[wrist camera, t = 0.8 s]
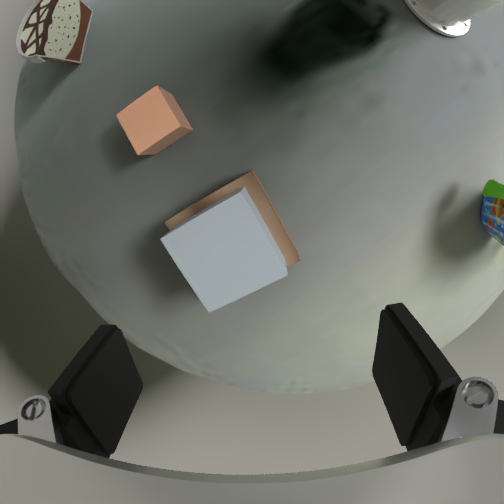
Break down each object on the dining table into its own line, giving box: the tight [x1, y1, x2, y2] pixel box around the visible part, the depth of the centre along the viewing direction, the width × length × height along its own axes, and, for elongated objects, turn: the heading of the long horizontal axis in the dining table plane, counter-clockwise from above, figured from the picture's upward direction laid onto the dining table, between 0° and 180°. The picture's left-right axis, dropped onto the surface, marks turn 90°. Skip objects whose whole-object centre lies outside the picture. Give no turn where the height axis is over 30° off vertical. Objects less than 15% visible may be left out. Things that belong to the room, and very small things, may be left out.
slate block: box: [160, 186, 288, 312], centre depth 29 cm, size 9×9×4 cm
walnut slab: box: [165, 170, 300, 267], centre depth 33 cm, size 11×11×4 cm
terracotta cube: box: [116, 85, 193, 155], centre depth 29 cm, size 6×6×6 cm
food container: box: [16, 0, 93, 64], centre depth 22 cm, size 12×6×10 cm, turn 175°
